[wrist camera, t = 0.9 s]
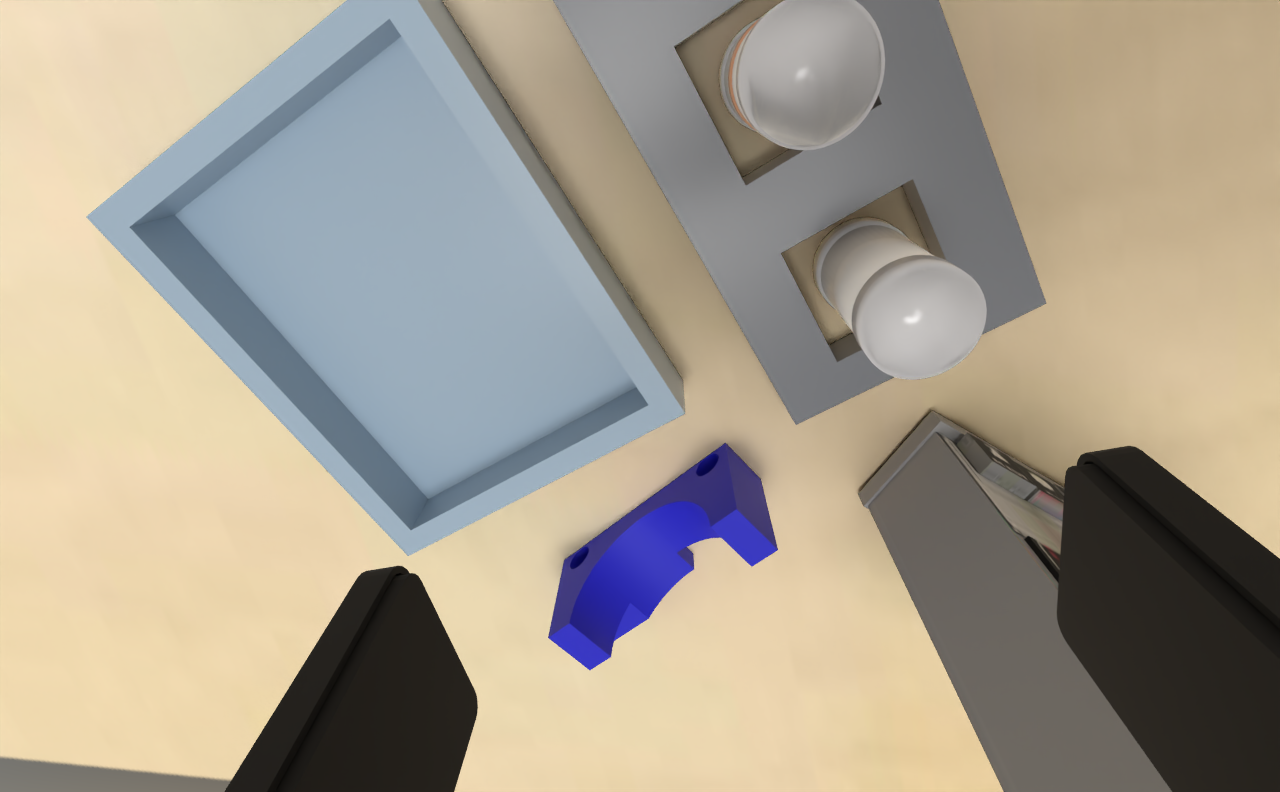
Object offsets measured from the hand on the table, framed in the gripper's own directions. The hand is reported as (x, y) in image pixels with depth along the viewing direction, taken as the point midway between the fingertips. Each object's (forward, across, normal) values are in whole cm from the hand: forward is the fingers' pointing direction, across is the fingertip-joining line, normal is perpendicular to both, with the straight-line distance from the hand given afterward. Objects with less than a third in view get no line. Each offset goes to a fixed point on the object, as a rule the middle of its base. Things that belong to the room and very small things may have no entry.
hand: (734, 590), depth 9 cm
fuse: (+22, -7, +3) cm, 23 cm away
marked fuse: (+22, -5, -6) cm, 23 cm away
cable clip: (+22, +4, +16) cm, 28 cm away
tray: (+22, +12, 0) cm, 25 cm away
